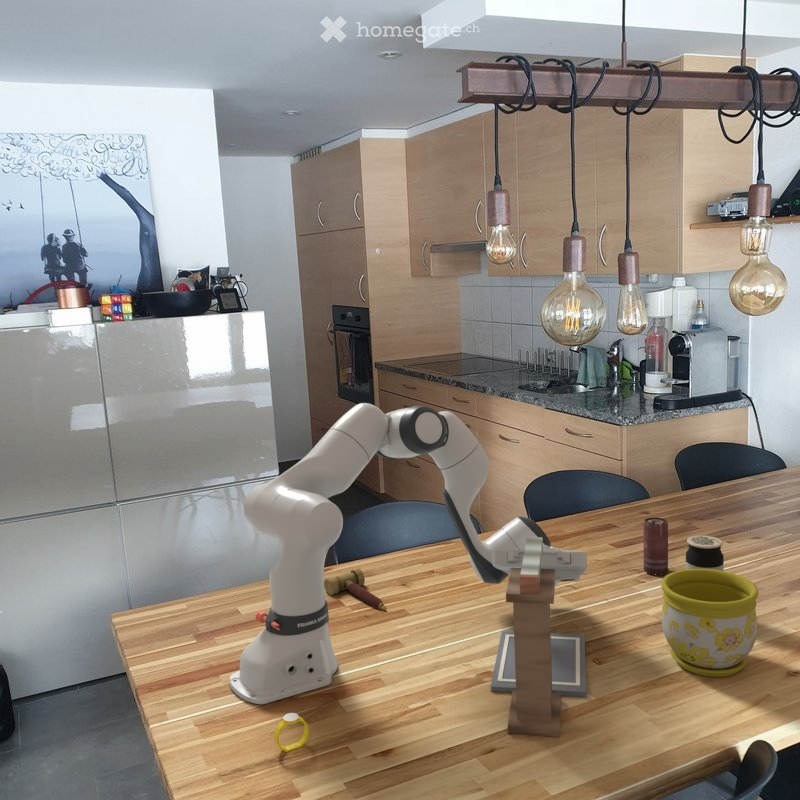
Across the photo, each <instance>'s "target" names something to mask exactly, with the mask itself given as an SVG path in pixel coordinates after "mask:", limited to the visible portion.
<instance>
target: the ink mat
mask: <svg viewBox="0 0 800 800" xmlns="http://www.w3.org/2000/svg"><path fill="white" fill-rule="evenodd" d="M585 637H586V635H585V634H581V633H579V634H577V633H557V632H556V633H555V632H551V665H552V693H561V697H563V696H564V697H580V698H581V697H582V698H586V697H587V678H586V677H587V676H586V672H587V670H586V669H587V667H586V638H585ZM513 690H516V675H515V645H514V630H513V631H511V630H509V631H508V630H501V634H500V637H499V643H498V647H497V653H496V659H495V663H494V669H493V674H492V679H491V684H490V692H496V691H497V693H498V692H499V693H500V692H501V693H512V692H513Z"/></svg>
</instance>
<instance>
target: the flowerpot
mask: <svg viewBox="0 0 800 800" xmlns="http://www.w3.org/2000/svg"><path fill="white" fill-rule="evenodd" d="M660 586H661V589H662V591H663V592H662V598H663V603H662V612H661V624H662V632H663V634H664V638H665V640H666V641H667V644H668V646H670V648H671V649H670V654H671V657H672V658H673V660H674V661H676V663H677V664H678V665H679V667H681V668H683V669H684V670H686V671H688V672H690V673H693V674H696V675H699V676H703V677H704V676H705V677H711V678H712V677H713V678H721V677H728V676H732V675H735V674H737V673H739V671H740V670H741V669H743V668H744V667H745V666H746V665H747V661H748V659H747V657H748V655H749V654H750V653H751V651H752V649H753V648H754V645H755V643H756V639H757V635H758V619H757V612H756V608H757V601H756V600H757V599H758V597H759V589H758V587H757V585H755V583H754V582H753V581H751V580H750V579H748V578H746V577H744V576H742V575H739V574H736V573H733V572H728V571H720V570H713V569H686V568H685V569H682V570H676V571H673V572H670V573H668V574H666V575H664V576H663V578H662V580H661V585H660Z"/></svg>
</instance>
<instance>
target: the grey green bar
mask: <svg viewBox="0 0 800 800" xmlns="http://www.w3.org/2000/svg"><path fill="white" fill-rule="evenodd" d="M542 557H543V537H527V540H526V545H525V551H524V557H523V562H522V568H521V574H520V576H519V578H520V593H528V594H539V584H540V575H541V566H542Z"/></svg>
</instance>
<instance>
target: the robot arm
mask: <svg viewBox="0 0 800 800" xmlns="http://www.w3.org/2000/svg"><path fill="white" fill-rule="evenodd" d="M426 454H428V455H429V457H431V458H432V459H433V461H434V463H435V465H436V466H437V467H438V469H439V471H440V472H441V473H442V477H443V479H444V489H443V491H442V499H443V501H444V504H445V507H446V509H447V512H448V514H449V516H450V518H451V520H452V523H453V525H454V527H455V528H456V531H457V533H458V535H459V537H460V540H461V542H462V543H463V546H464V548H465V550H466V552H467V555H468V557H469V558H468V559H469V561H470V564H471V567H472V569H473V570H472V571H474V573H475V575H476V576H477V577H478V578H479V580H481V581H482V582H483V583H485V584H492V585H493V584H494V585H497V584H501V583H502V582H503V581H504V580H505V579H506V578H507V577H509V576H510V571H511V568H522V562H523V557H524V551H525V545H526V540H527V537H543V557H542V566H541V569H555V587H556V586H557V585H558V584H559V583H562V582H563V583H564V582H575V581H579V580H581V576H583V575H584V574H585V573H586V572H587V570H588V553H587V551H584V550H577V549H576V550H575V549H564V548H557V547H554V546H552V543H551V541H550V539H549V537H548V535H547V534H546V533H545V531H544V530H543V529H542V528H541V526H540V525H539V524H538V523H537V522H536V521H535V520H533V519H531V518H528V517H525V516H516V517H514V518H513V519H512V520H510V521H509V522H507V523H506V524H504V526H502V528H500V529H499V530H497V531H496V532H494V533H493V534H491V536H490V537H488V538H487V539H484V540H481V538H480V536H479V535H478V533H477V530H476V528H475V526H474V524H473V522H472V519H471V517H470V510H471V506H472V504H473V502H474V500H475V498H476V496H477V495H478V493H479V492H480V490H481V489H482V488H483V486H484V484H485V482H486V481H487V478H488V474H489V471H490V459H489V457H488V455H487V453H486V451H485V449H484V448H483V446H482V445H481V443H480V442H479V440H478V439H477V438H476V436H475V434H474V433H473V432H472V431H471V430H470V429H469V427H468V426H466V424H465V423H464V422H463V421H462V420H461V418H459V417H458V416H457V415H456V414H455V413H454V412H452V411H448V410H445V411H444V410H443V411H441V410H440V411H437V410H436V409H434V408H432V407H430V406H426V405H413V406H411V407H405V408H399V409H398V408H397V409H396V410H393V411H389V412H387V413H384V412H383V410H381V409H380V408H379V407H377V406H376V405H374V404H372V403H369V402H368V403H367V402H359V403H358V404H355V405H354V406H353V407H351V408H350V409H349V410H348V411H346V413H344V414H342V416H341V417H340V418H339V419H338V420H337V421H336V422H334V424H333V425H332V426H331V427H330V428H329V429H328V431H326V433H325V434H324V435H323V436H322V437H321V438H320V439H319V440H318V442H317V443H316V444H315V445H314V447H313V448H312V449H311V450H310V451H309V452H308V453H307V454H306V455H305V456H304V457H302V458H301V459H300V460H299V461H298V462H297V463H295V464H294V465H293V466H291V467H290V468H288V469H287V470H285V471H284V472H282V473H281V474H280V475H278V476H276V477H275V478H274V479H271V480H270V481H267V482H265V483H262V484H258V485H256V486H254V488H252V489H251V490H250V491H249V492H248V494H247V495H246V498H245V500H244V503H243V515H244V518H245V521H246V522H248V524H249V525H250V526H251V527H252V528H254V529H255V530H256V531H258V532H259V533H260V534H261V535H265V536H267V537H270V538H273V539H276V540H278V542H279V546H280V552H279V553H280V554H279V559H278V561H277V562H276V563H275V564H274V565H273V566H272V567H271V569H270V571H269V576H268V577H269V589H270V591H269V592H270V600H271V601H270V602H271V606H270V608H269V611H268V614H267V613H265V612H264V611H263V610H259V611H257V612H256V613H255V615H254V616H255V617H254V618H255V620H256V621H258V622H260V623H262V624H264V623H265V626H264V628H263V629H262V630H261V631H260V632H259V633H258V634H257V635H256V637H254V639H253V640H252V641H251V642H250V643H249V645H247V646H246V648H244V650H243V651H242V652H241V655H240V662H239V670H238V671H235V672H234V673H231V674H230V677H229V685H230V688H231V689H230V690H232V691H233V693H235V694H236V695H237V696H238V698H240V699H242V700H244V701H246V702H248V703H252V704H255V705H256V704H257V705H265V704H269V703H272V702H276V701H278V700H279V701H280V700H282V699H285V698H289V697H293V696H296V695H300V694H303V693H306V692H309V691H312V690H316V689H319V688H324V687H326V686H329V685H330V684H331V683H332V679H333V675H334V674H335V672H336V671H337V670H338V666H339V663H338V659H337V658H336V655H335V652H334V649H333V645H332V641H331V637H330V632H329V630H330V629H329V622H330V621H329V620H330V618H329V608H328V607H329V606H328V601H327V600H326V595H325V594H326V591H325V588H324V580H325V563H326V557H327V554H328V551H329V549H330V547H332V546H333V545H334V544H335V543H336V542H337V540H339V539H340V538H339V537H340V536H341V533H342V531H343V527H344V526H343V524H344V518H343V514H342V511H341V509H340V508H339V506H338V505H336V504H335V503H333V502H332V501H331V500H330V499H329V498H332V497H333V496H336V495H339V494H342V493H344V492H345V491H346V490H348V489H349V487H351V486H352V484H353V483H354V481H356V479H357V477H359V475H360V474H361V473H362V471H363V470H364V468H366V466H367V465H368V464H369V463H370V461H371V460H372V459H373V458H374V456H375V455H377V456H378V457H380V458H384V459H388V460H396V459H409V458H415V457H418V456H421V455H426Z"/></svg>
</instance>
